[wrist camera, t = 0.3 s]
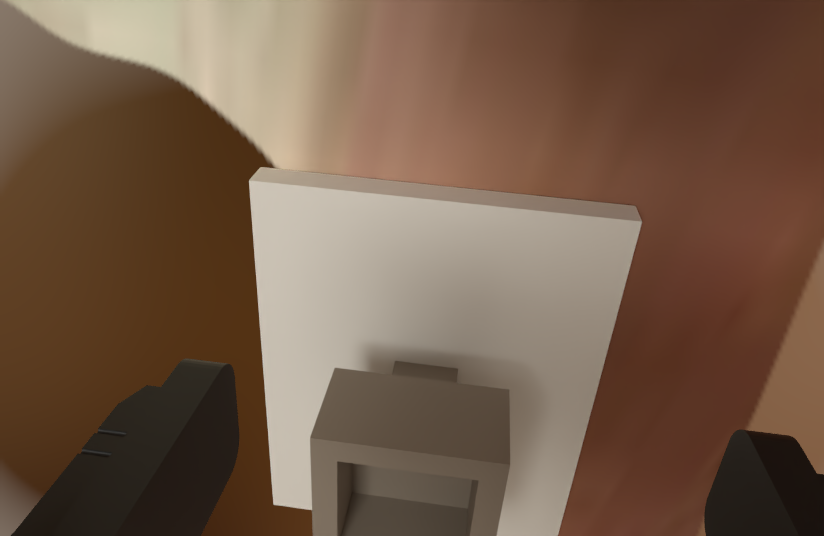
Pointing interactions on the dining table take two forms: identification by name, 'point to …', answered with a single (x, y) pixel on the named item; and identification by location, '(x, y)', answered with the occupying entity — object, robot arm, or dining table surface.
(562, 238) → the cup bracket
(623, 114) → the dining table surface
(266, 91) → the dining table surface
